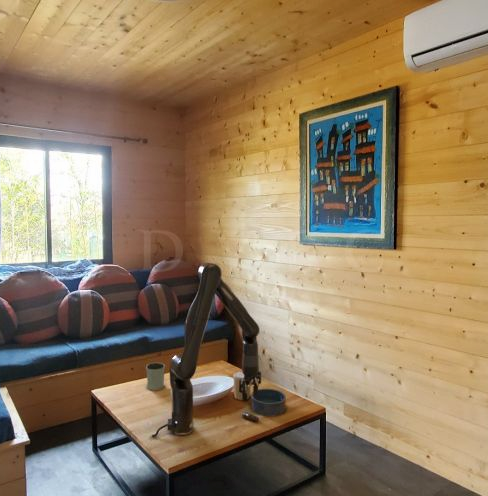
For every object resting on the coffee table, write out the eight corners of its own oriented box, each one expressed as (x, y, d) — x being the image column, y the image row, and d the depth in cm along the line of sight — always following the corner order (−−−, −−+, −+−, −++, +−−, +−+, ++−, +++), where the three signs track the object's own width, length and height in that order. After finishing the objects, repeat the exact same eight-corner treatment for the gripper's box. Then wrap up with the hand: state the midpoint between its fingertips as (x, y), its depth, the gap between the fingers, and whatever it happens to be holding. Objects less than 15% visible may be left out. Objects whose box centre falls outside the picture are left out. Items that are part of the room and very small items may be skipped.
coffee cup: (251, 393, 224) (251, 371, 223) (250, 401, 215) (251, 378, 213) (233, 392, 225) (234, 370, 224) (232, 400, 215) (232, 377, 214)
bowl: (254, 416, 199) (254, 404, 198) (248, 400, 215) (248, 389, 215) (289, 415, 201) (289, 402, 200) (280, 399, 217) (281, 388, 217)
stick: (240, 416, 198) (242, 411, 198) (243, 416, 200) (244, 411, 200) (256, 422, 192) (257, 417, 193) (259, 422, 194) (260, 417, 195)
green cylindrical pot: (159, 381, 238) (158, 361, 236) (168, 387, 230) (168, 366, 229) (142, 386, 231) (142, 365, 230) (152, 392, 223) (152, 370, 222)
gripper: (252, 357, 201) (252, 389, 203) (234, 365, 190) (234, 400, 192) (265, 360, 197) (265, 394, 198) (248, 369, 186) (248, 405, 187)
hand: (250, 397), depth 195 cm, fingers open, 8 cm apart
